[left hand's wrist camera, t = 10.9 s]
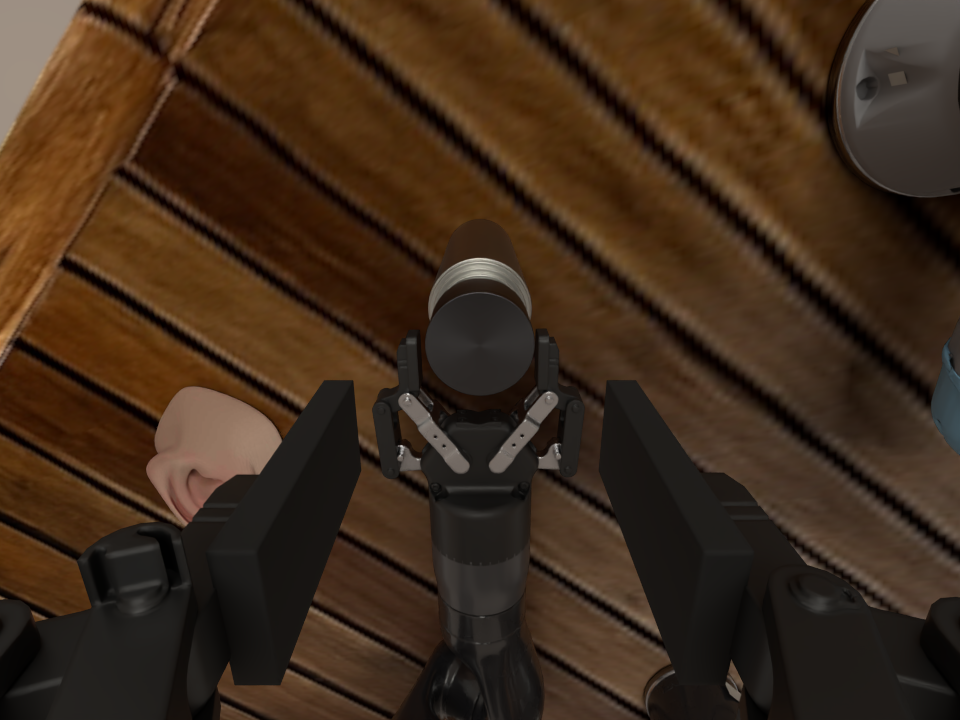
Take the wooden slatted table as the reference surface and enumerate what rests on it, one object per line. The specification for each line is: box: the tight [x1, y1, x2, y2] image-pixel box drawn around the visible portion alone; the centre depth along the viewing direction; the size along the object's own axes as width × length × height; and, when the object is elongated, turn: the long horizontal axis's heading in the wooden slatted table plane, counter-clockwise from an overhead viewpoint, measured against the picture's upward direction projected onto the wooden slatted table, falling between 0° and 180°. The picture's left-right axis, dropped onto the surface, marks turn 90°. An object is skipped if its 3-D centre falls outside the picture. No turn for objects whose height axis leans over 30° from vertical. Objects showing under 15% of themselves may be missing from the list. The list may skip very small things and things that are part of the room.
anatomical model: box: [146, 386, 282, 527], centre depth 45 cm, size 13×4×12 cm
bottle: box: [428, 219, 532, 319], centre depth 31 cm, size 5×5×21 cm
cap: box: [425, 278, 535, 396], centre depth 22 cm, size 4×4×2 cm
